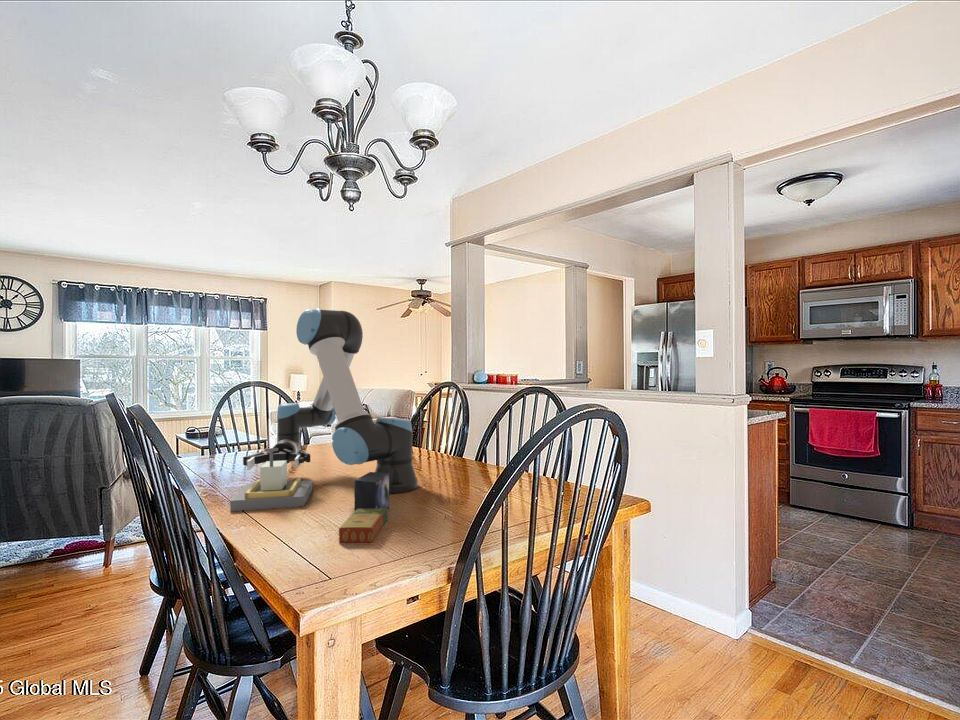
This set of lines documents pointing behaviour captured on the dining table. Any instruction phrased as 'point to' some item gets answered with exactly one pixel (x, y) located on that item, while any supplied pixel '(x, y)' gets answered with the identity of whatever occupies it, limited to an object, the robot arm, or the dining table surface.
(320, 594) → the dining table surface
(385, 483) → the small box
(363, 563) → the dining table surface
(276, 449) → the plunger detonator box
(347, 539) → the carton
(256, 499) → the dock
